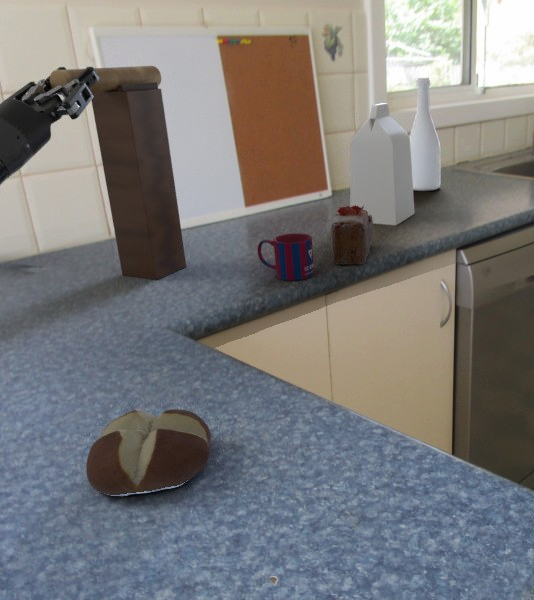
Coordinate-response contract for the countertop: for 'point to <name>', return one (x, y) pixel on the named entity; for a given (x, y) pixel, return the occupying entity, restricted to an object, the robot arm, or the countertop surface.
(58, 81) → the rolling pin
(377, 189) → the milk
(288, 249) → the mug
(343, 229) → the food item
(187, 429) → the bread
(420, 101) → the wine bottle
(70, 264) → the countertop surface
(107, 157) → the stand
